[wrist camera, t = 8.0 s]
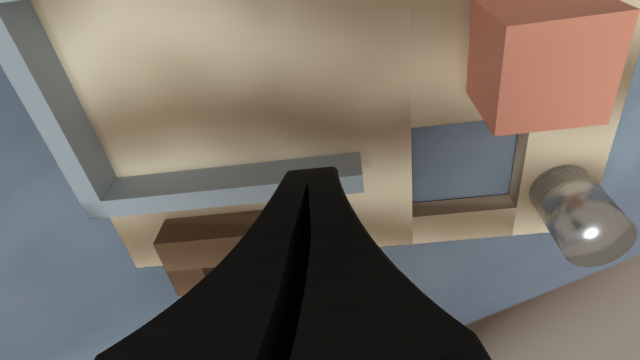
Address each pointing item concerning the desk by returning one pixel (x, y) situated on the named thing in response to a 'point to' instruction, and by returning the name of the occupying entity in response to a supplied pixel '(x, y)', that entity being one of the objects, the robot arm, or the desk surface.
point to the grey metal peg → (581, 216)
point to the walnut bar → (199, 245)
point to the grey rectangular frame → (90, 159)
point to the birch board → (299, 101)
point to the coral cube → (547, 62)
